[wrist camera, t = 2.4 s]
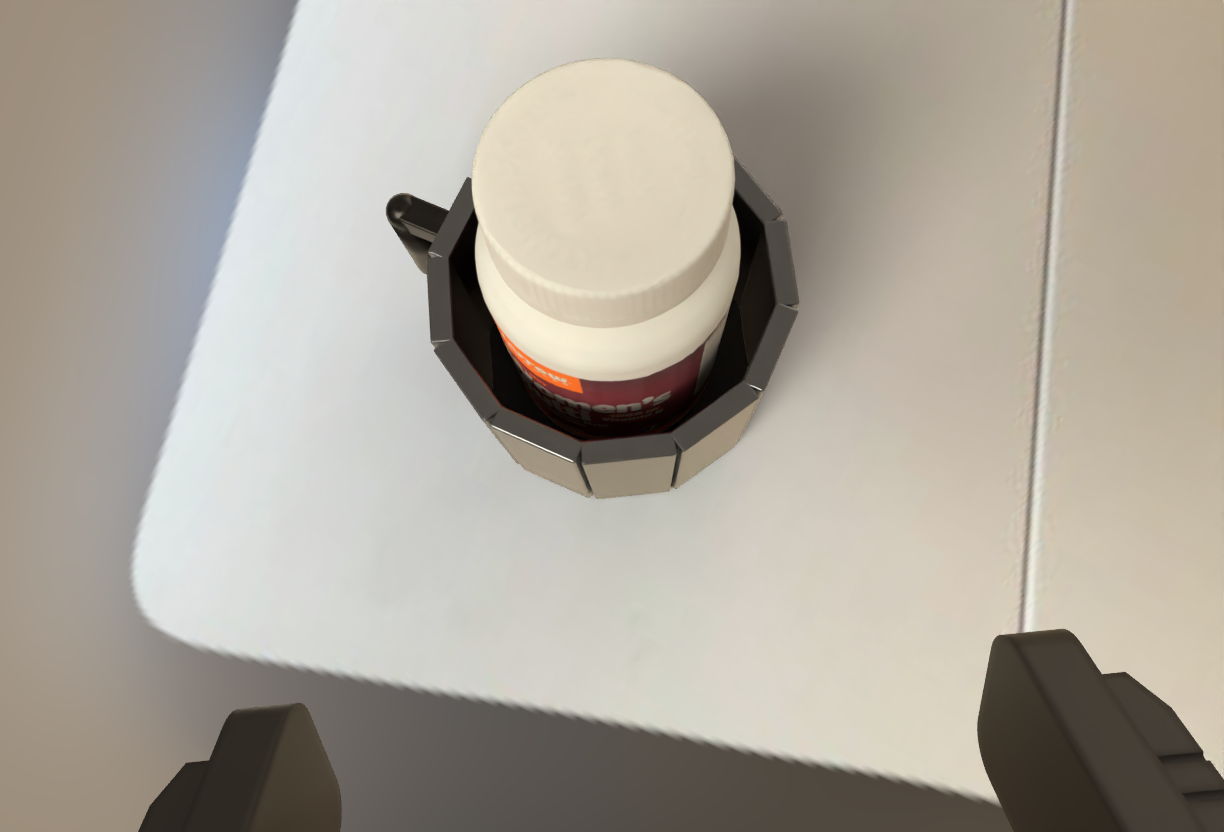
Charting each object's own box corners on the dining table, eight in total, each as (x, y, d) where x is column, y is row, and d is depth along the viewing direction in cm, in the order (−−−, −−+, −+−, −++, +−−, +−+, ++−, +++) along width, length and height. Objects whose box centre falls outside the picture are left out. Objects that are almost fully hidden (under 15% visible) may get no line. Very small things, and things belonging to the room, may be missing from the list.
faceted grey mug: (364, 398, 28) (290, 338, 22) (492, 156, 30) (454, 41, 24) (694, 545, 26) (708, 523, 20) (807, 281, 28) (849, 191, 22)
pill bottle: (505, 433, 27) (412, 305, 16) (536, 251, 29) (469, 18, 18) (703, 459, 27) (744, 344, 16) (725, 272, 28) (776, 48, 17)
